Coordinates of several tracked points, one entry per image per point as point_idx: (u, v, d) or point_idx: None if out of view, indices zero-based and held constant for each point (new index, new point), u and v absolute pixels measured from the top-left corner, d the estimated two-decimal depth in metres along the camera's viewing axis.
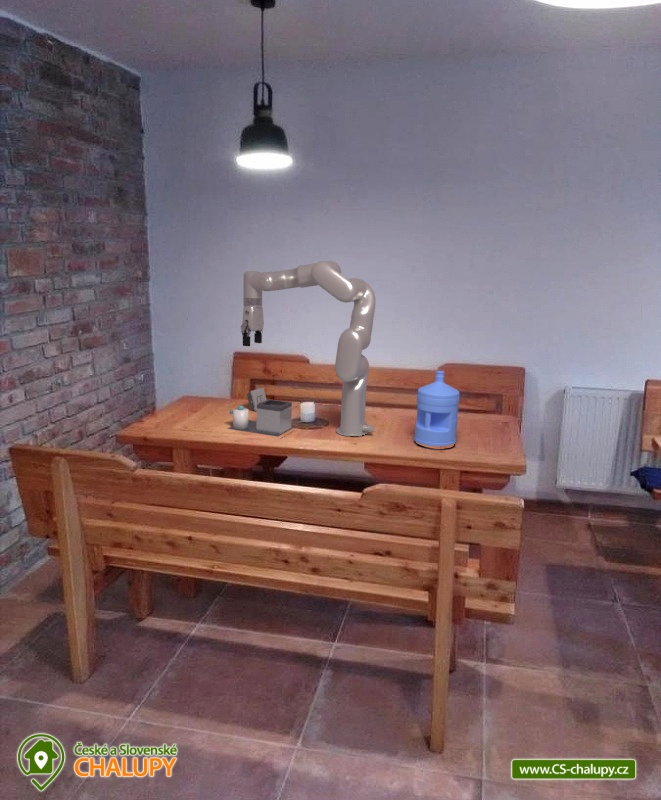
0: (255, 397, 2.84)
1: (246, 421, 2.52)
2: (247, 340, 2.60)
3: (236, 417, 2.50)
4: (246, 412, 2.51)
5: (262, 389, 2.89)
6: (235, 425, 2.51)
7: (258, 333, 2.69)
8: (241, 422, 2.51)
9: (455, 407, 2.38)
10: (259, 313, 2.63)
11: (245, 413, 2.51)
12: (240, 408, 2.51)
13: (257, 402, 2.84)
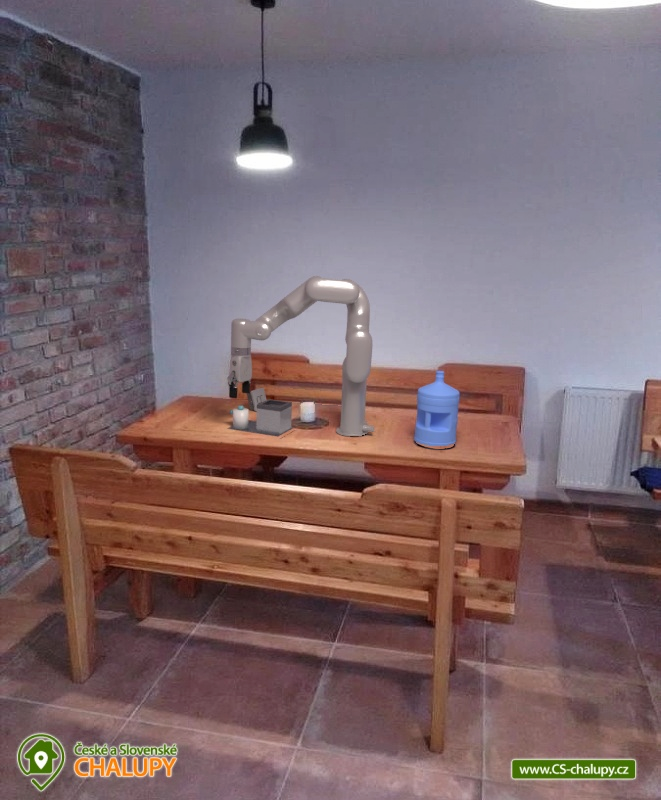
0: (255, 397, 2.84)
1: (246, 421, 2.52)
2: (233, 392, 2.45)
3: (236, 417, 2.50)
4: (246, 412, 2.51)
5: (262, 389, 2.89)
6: (235, 425, 2.51)
7: (246, 383, 2.54)
8: (241, 422, 2.51)
9: (455, 407, 2.38)
10: (247, 363, 2.48)
11: (245, 413, 2.51)
12: (240, 408, 2.51)
13: (257, 402, 2.84)
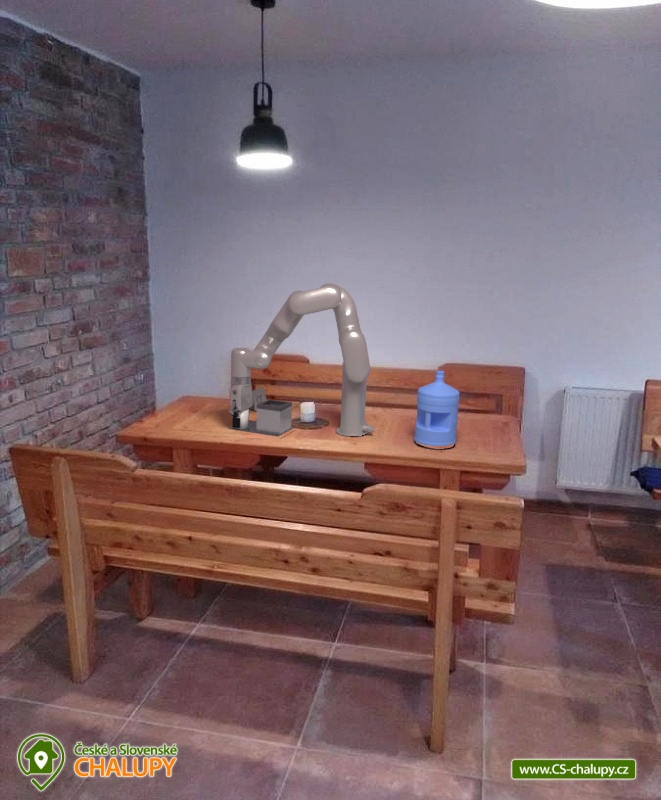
0: (255, 397, 2.84)
1: (246, 421, 2.52)
2: (236, 422, 2.49)
3: None
4: (246, 412, 2.51)
5: (262, 389, 2.89)
6: None
7: None
8: (241, 422, 2.51)
9: (455, 407, 2.38)
10: (248, 391, 2.50)
11: (245, 413, 2.51)
12: None
13: (257, 402, 2.84)
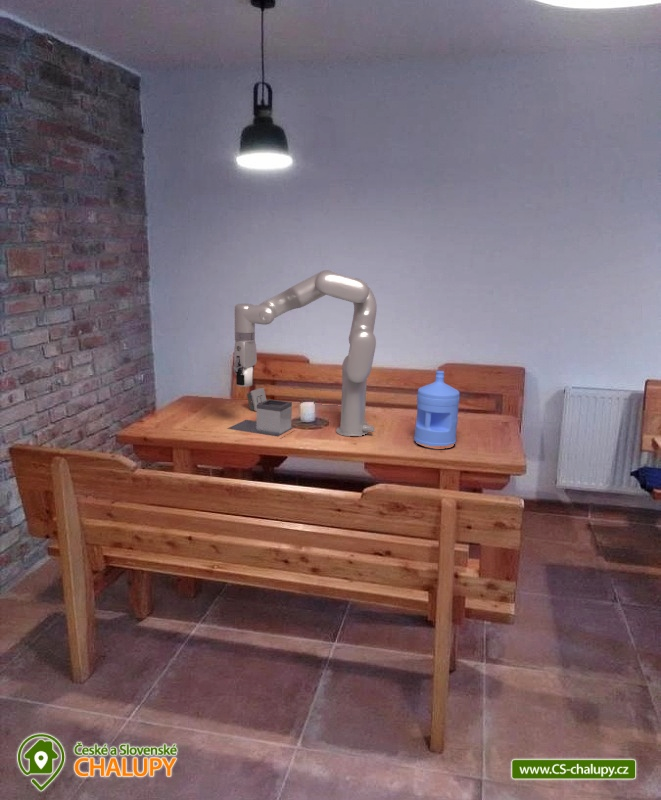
0: (255, 397, 2.84)
1: (250, 378, 2.48)
2: (240, 379, 2.45)
3: None
4: (250, 369, 2.47)
5: (262, 389, 2.89)
6: None
7: None
8: (245, 379, 2.46)
9: (455, 407, 2.38)
10: (252, 348, 2.46)
11: (249, 370, 2.46)
12: None
13: (257, 402, 2.84)
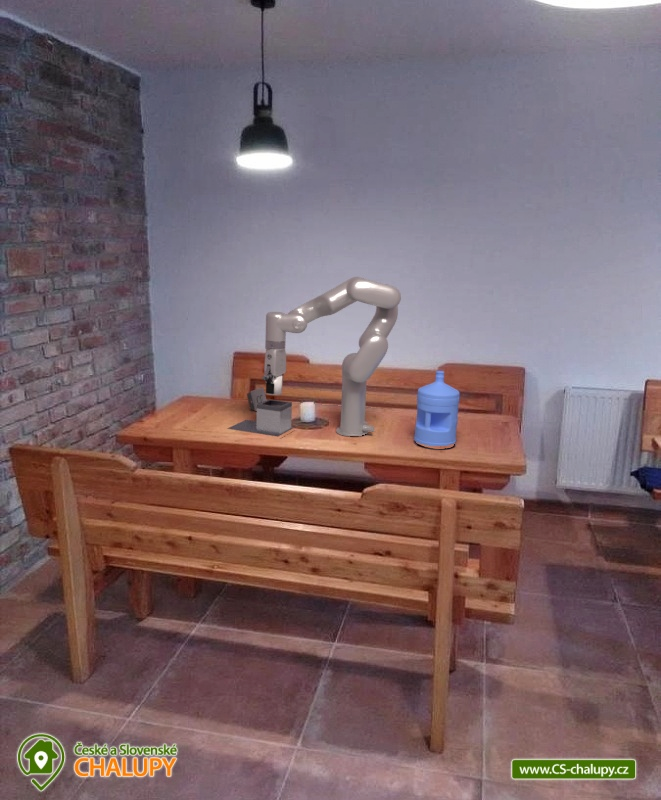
0: (255, 397, 2.84)
1: (280, 387, 2.46)
2: (270, 388, 2.44)
3: None
4: (280, 378, 2.46)
5: (262, 389, 2.89)
6: None
7: None
8: (275, 388, 2.45)
9: (455, 407, 2.38)
10: (282, 356, 2.45)
11: (279, 379, 2.45)
12: None
13: (257, 402, 2.84)
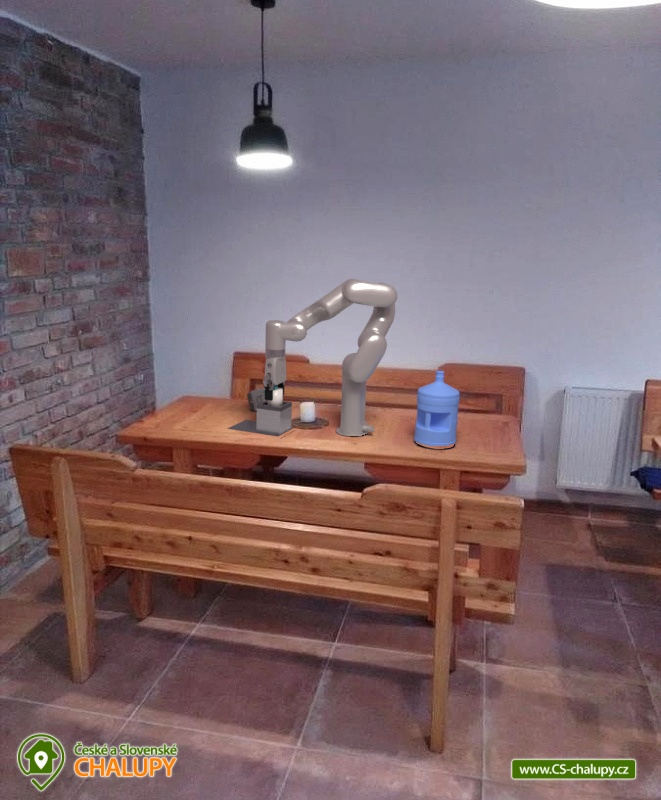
0: (255, 397, 2.84)
1: (281, 401, 2.48)
2: (269, 394, 2.43)
3: None
4: (280, 391, 2.47)
5: (262, 389, 2.89)
6: (270, 405, 2.47)
7: (280, 385, 2.52)
8: (276, 402, 2.47)
9: (455, 407, 2.38)
10: (282, 365, 2.46)
11: (280, 392, 2.47)
12: (274, 387, 2.47)
13: (257, 402, 2.84)
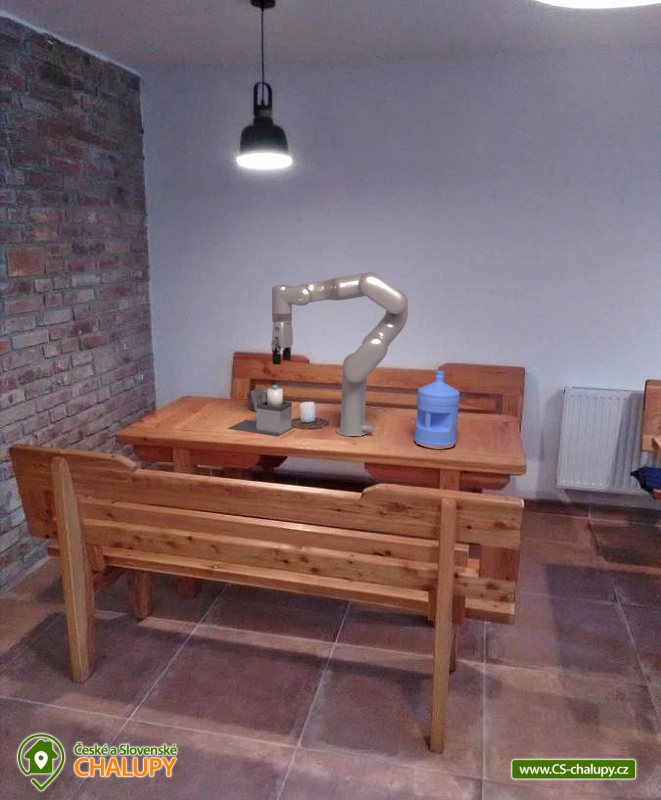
0: (255, 397, 2.84)
1: (281, 401, 2.48)
2: (277, 358, 2.45)
3: (270, 397, 2.46)
4: (281, 391, 2.47)
5: (262, 389, 2.89)
6: (270, 405, 2.47)
7: (287, 350, 2.55)
8: (276, 402, 2.47)
9: (455, 407, 2.38)
10: (289, 329, 2.48)
11: (280, 392, 2.47)
12: (274, 388, 2.47)
13: (257, 402, 2.84)
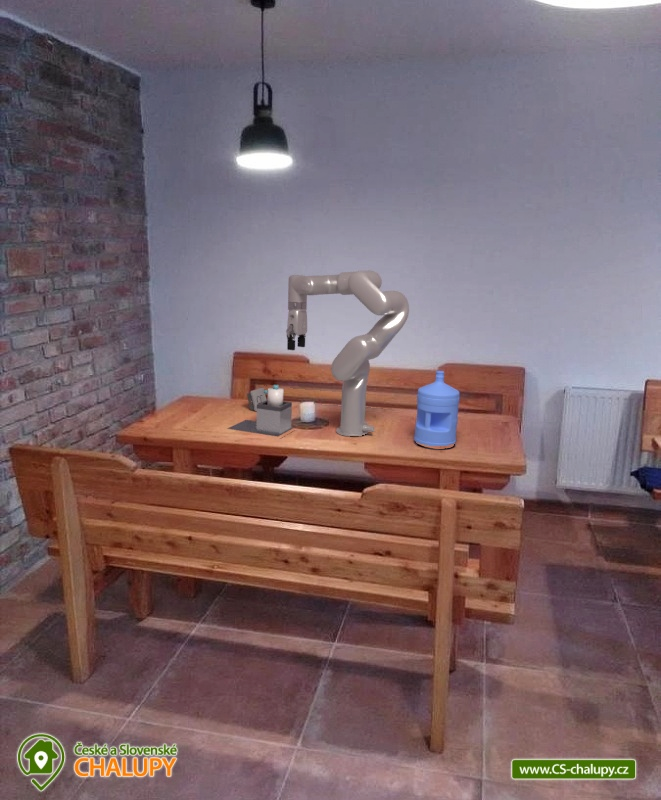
0: (255, 397, 2.84)
1: (281, 401, 2.48)
2: (292, 344, 2.60)
3: (271, 396, 2.46)
4: (282, 391, 2.47)
5: (262, 389, 2.89)
6: (270, 405, 2.47)
7: (301, 337, 2.69)
8: (277, 402, 2.47)
9: (455, 407, 2.38)
10: (303, 317, 2.62)
11: (281, 392, 2.47)
12: (275, 387, 2.48)
13: (257, 402, 2.84)
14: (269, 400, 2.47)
